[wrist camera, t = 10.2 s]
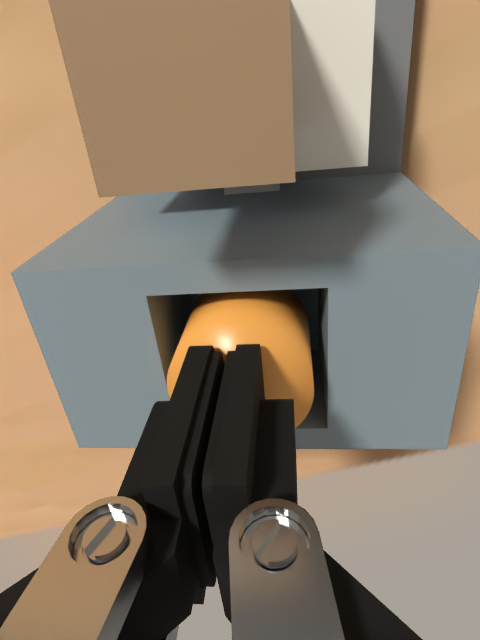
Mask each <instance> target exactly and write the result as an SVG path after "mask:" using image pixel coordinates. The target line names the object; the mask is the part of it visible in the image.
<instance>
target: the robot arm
mask: <svg viewBox="0 0 480 640" xmlns="http://www.w3.org/2000/svg"><path fill="white" fill-rule="evenodd" d="M216 577H217V579H218V584H219V588H220V593H221V597H222V602H223V607H224V612H225V616H226V617H227V618H228V620H229V621H230V622H231V624H232V640H422V639H421V638H420V637H419V636H418V635H417V634H416V633H415V632H414V631H412V630H411V629H410V628H409V627H408V626H407V625H406V624H405V623H404V622H402V621H401V620H400V619H399V618H398V617H397V616H396V615H395V614H394V613H393V612H391V611H390V610H389V609H388V608H387V607H386V606H385V605H383V603H382V602H380V601H379V600H378V599H377V598H376V597H375V596H374V595H373V594H372V593H370V592H369V591H368V590H367V589H366V588H365V587H364V586H363V585H362V584H361V583H359V582H358V581H357V580H356V579H355V578H354V577H353V576H352V575H350V574H349V573H348V572H347V571H346V570H345V569H344V568H343V567H342V566H341V565H340V564H338V563H337V562H336V561H335V560H334V559H333V558H332V557H331V556H330V555H328V554H327V553H326V552H325V551H324V550H323V546H322V542H321V539H320V534H319V531H318V528H317V526H316V524H315V521H314V519H313V518H312V517H311V516H310V515H309V513H308V512H307V511H306V510H305V509H304V508H302V507H300V506H299V505H297V472H296V441H295V417H294V399H265V392H264V380H263V369H262V357H261V347H260V344H237V345H236V349H235V351H228V352H227V357H226V361H225V366H224V360H223V354H222V351H215V350H214V347H213V346H212V345H206V346H189V348H188V350H187V353H186V356H185V359H184V361H183V364H182V367H181V370H180V373H179V376H178V378H177V381H176V384H175V387H174V390H173V393H172V395H171V398H170V401H157V402H156V403H155V404H154V405H153V407H152V410H151V412H150V415H149V417H148V420H147V422H146V425H145V427H144V430H143V432H142V435H141V437H140V440H139V442H138V445H137V447H136V450H135V452H134V455H133V457H132V460H131V462H130V465H129V467H128V470H127V472H126V475H125V477H124V480H123V482H122V485H121V487H120V490H119V492H118V495H117V496H111V497H107V498H103V499H99V500H97V501H95V502H93V503H91V504H89V505H87V506H85V507H84V508H83V509H82V510H80V511H79V512H78V513H77V514H75V515H74V517H73V518H72V519H71V520H70V522H69V523H68V524H67V525H66V527H65V528H64V530H63V531H62V533H61V534H60V536H59V537H58V539H57V541H56V542H55V544H54V545H53V547H52V548H51V550H50V552H49V553H48V555H47V556H46V558H45V559H44V561H43V562H42V564H41V566H40V567H39V568H37V569H36V570H34V571H33V572H32V573H30V574H29V575H27V576H26V577H24V578H23V579H21V580H20V581H18V582H17V583H15V584H14V585H12V586H11V587H9V588H8V589H6V590H5V591H3V592H2V593H0V640H176V639H177V634H178V628H179V624H180V623H181V622H182V621H184V620H185V619H186V618H187V617H188V616H189V615H190V614H191V610H192V605H193V604H203V603H204V597H205V590H206V586H209V587H214V585H215V583H216Z"/></svg>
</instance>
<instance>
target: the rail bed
mask: <svg viewBox="0 0 480 640" xmlns="http://www.w3.org/2000/svg"><path fill="white" fill-rule="evenodd" d="M414 11H415V0H376V3H375V23H374V44H373V65H372V85H371V106H370V127H369V147H368V166H360V167H347V168H335V169H323V170H310V171H298V172H295V181H296V182H292V183H279V184H266V185H253V186H240V187H228V188H215V189H202V190H189V191H176V192H163V193H150V194H138V195H125V196H117V197H116V198H114V199H113V200H112V201H110V202H109V203H107V204H106V205H105V206H103V207H102V208H100V209H99V210H98V211H96V212H95V213H94V214H92V215H91V216H89V217H88V218H87V219H85V220H84V221H82V222H81V223H80V224H78V225H77V226H75V227H74V228H73V229H71V230H70V231H68V232H67V233H66V234H64V235H63V236H61V237H60V238H59V239H57V240H56V241H54V242H53V243H52V244H50V245H49V246H47V247H46V248H45V249H43V250H42V251H40V252H39V253H38V254H36V255H35V256H33V257H32V258H31V259H29V260H28V261H26V262H25V263H24V264H22V265H21V266H19V267H18V268H17V269H15V270H14V271H12V272H11V275H12V277H13V280H14V282H15V285H16V287H17V290H18V292H19V295H20V298H21V300H22V303H23V305H24V308H25V310H26V313H27V315H28V318H29V321H30V323H31V326H32V328H33V331H34V333H35V336H36V338H37V341H38V343H39V346H40V349H41V351H42V354H43V356H44V359H45V361H46V364H47V366H48V369H49V372H50V374H51V377H52V379H53V382H54V384H55V387H56V389H57V392H58V395H59V397H60V400H61V402H62V405H63V407H64V410H65V412H66V415H67V418H68V420H69V423H70V425H71V428H72V430H73V433H74V435H75V438H76V441H77V443H78V446H79V448H136V447H137V445H138V442H139V440H140V437H141V435H142V432H143V430H144V427H145V425H146V422H147V420H148V417H149V415H150V412H151V410H152V407H153V405H154V404H155V403H156V402H157V401H170V397H169V394H168V389H167V374H168V369H169V367H170V364H171V361H172V359H173V356H174V354H175V351H176V349H177V346H178V344H179V341H180V339H181V337H182V334H183V332H184V329H185V327H186V324H187V322H188V319H189V317H190V314H191V312H192V309H193V307H194V305H195V303H196V301H197V299H198V297H199V296H200V295H201V293H223V292H246V291H268V290H290V289H291V290H292V291H293V292H294V293H295V294H296V295H297V296H298V298H299V299H300V300H301V302H302V304H303V305H304V308H305V310H306V312H307V316H308V321H309V333H310V345H311V357H312V369H313V381H314V399H313V403H312V406H311V409H310V411H309V413H308V414H307V416H306V418H305V419H304V420H303V421H302V423H301V424H300V425H299V426H298V427H296V428H295V441H296V449H447V446H448V441H449V436H450V430H451V425H452V420H453V415H454V410H455V405H456V400H457V395H458V390H459V385H460V380H461V375H462V370H463V365H464V360H465V354H466V349H467V344H468V339H469V334H470V329H471V324H472V319H473V314H474V309H475V304H476V299H477V294H478V289H479V284H480V240H478V239H477V238H476V237H475V236H474V235H473V234H472V233H470V232H469V231H468V230H467V229H466V228H465V227H464V226H462V225H461V224H460V223H459V222H458V221H457V220H455V219H454V218H453V217H452V216H451V215H450V214H449V213H447V212H446V211H445V210H444V209H443V208H442V207H440V206H439V205H438V204H437V203H436V202H435V201H434V200H432V199H431V198H430V197H429V196H428V195H427V194H425V193H424V192H423V191H422V190H421V189H420V188H419V187H417V186H416V185H415V184H414V183H413V182H412V181H410V180H409V179H408V178H407V177H406V176H405V175H404V174H402V173H401V163H402V152H403V140H404V128H405V116H406V105H407V93H408V81H409V70H410V58H411V46H412V35H413V23H414Z"/></svg>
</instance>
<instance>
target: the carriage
mask: <svg viewBox="0 0 480 640" xmlns="http://www.w3.org/2000/svg"><path fill="white" fill-rule="evenodd" d="M375 3H376V0H49V4H50V8H51V12H52V16H53V20H54V24H55V28H56V31H57V35H58V39H59V43H60V47H61V51H62V55H63V59H64V63H65V67H66V70H67V74H68V78H69V82H70V86H71V90H72V94H73V98H74V102H75V105H76V109H77V113H78V117H79V121H80V125H81V129H82V133H83V137H84V141H85V144H86V148H87V152H88V156H89V160H90V164H91V168H92V172H93V176H94V179H95V183H96V187H97V191H98V195H99V197H112V196H125V195H138V194H150V193H163V192H176V191H189V190H202V189H215V188H228V187H240V186H253V185H266V184H279V183H292V182H296V181H295V172H298V171H310V170H323V169H335V168H347V167H360V166H368V147H369V127H370V106H371V85H372V65H373V44H374V23H375Z"/></svg>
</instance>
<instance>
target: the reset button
mask: <svg viewBox="0 0 480 640" xmlns="http://www.w3.org/2000/svg"><path fill="white" fill-rule="evenodd" d="M237 344H260V347H261V357H262V369H263V380H264V392H265V399H294V417H295V428H296V427H298V426H299V425H300V424H301V423H302V421H303V420H304V419H305V418H306V416H307V414H308V413H309V411H310V409H311V406H312V403H313V399H314V381H313V369H312V357H311V345H310V333H309V321H308V316H307V312H306V310H305V308H304V305H303V304H302V302H301V300H300V299H299V298H298V296H297V295H296V294H295V293H294V292H293V291H292V290H291V289H290V290H268V291H246V292H223V293H201V295H200V296H199V297H198V299H197V301H196V303H195V305H194V307H193V309H192V312H191V314H190V317H189V319H188V322H187V324H186V327H185V329H184V332H183V334H182V337H181V339H180V341H179V344H178V346H177V349H176V351H175V354H174V356H173V359H172V361H171V364H170V367H169V369H168V374H167V389H168V394H169V397H170V398H171V395H172V393H173V390H174V387H175V384H176V381H177V378H178V376H179V373H180V370H181V367H182V364H183V361H184V359H185V356H186V353H187V350H188V348H189V346H206V345H212V346H213V347H214V350H215V351H222V354H223V360H224V366H225V361H226V357H227V352H228V351H235V349H236V345H237Z"/></svg>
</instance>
